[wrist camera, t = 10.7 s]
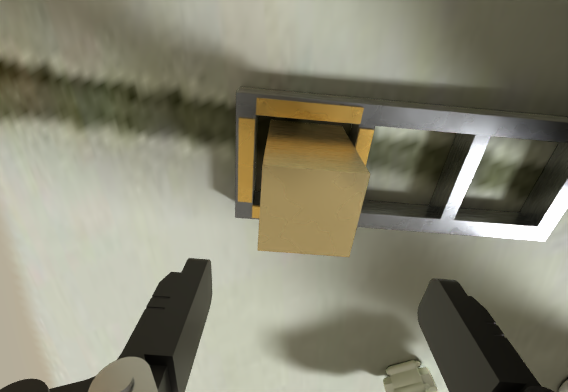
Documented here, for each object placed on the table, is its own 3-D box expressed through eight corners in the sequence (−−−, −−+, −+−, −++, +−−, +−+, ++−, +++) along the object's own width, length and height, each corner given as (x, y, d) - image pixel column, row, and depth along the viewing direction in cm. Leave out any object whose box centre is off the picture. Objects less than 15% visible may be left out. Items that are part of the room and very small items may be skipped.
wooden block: (341, 125, 21) (370, 174, 14) (330, 188, 23) (349, 257, 16) (270, 119, 20) (262, 165, 13) (266, 183, 23) (257, 250, 16)
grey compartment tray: (591, 119, 20) (622, 128, 18) (526, 226, 24) (546, 242, 23) (240, 86, 19) (235, 92, 17) (239, 203, 24) (235, 218, 22)
